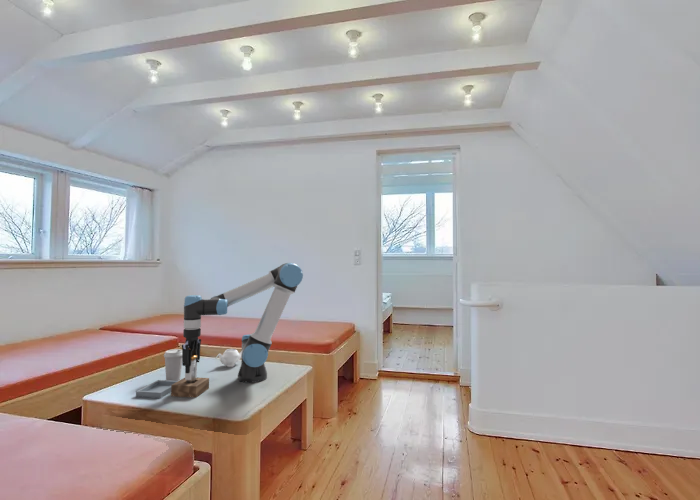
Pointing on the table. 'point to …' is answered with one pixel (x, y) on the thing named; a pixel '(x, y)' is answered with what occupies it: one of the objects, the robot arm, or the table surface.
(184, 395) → the socket block
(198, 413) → the table surface
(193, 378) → the hitch pin
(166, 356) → the coffee cup
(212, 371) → the table surface
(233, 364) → the teapot
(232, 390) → the table surface
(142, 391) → the tray
